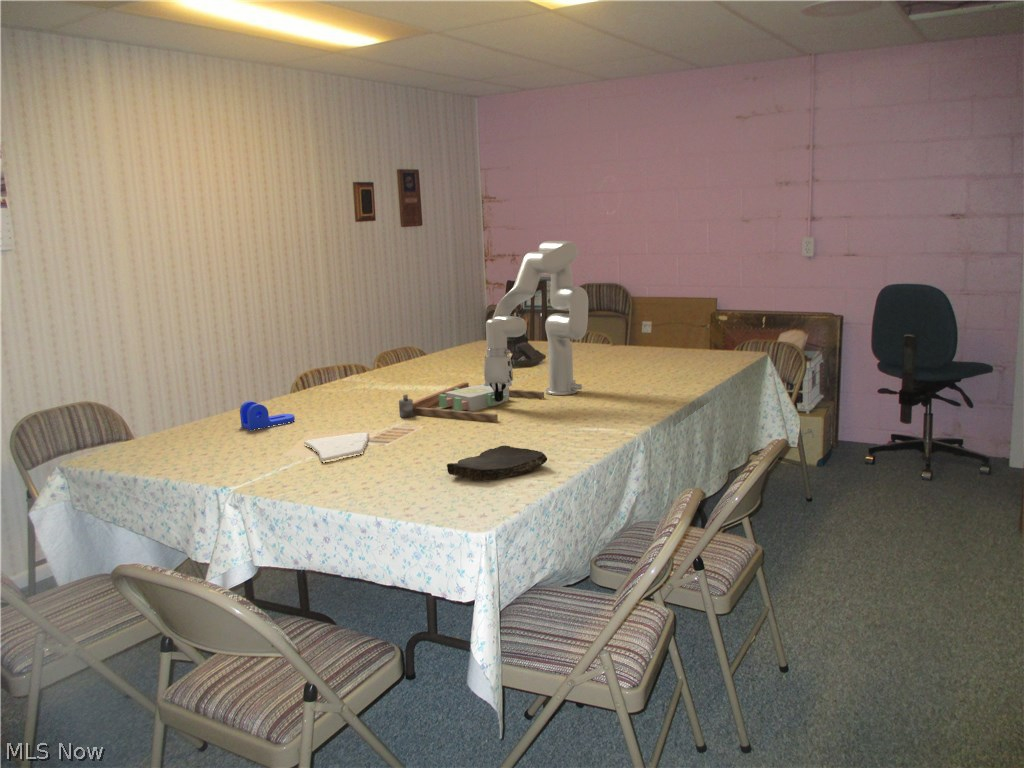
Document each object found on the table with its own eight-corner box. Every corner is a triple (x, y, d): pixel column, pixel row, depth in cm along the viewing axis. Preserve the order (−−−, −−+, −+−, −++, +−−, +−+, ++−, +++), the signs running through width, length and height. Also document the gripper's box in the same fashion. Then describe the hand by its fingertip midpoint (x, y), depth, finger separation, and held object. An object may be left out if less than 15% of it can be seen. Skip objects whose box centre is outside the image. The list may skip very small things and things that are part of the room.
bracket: (250, 431, 287) (248, 406, 285) (241, 427, 293) (238, 402, 292) (298, 422, 298) (296, 397, 297) (288, 418, 305) (286, 394, 303)
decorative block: (481, 380, 330) (516, 386, 315) (482, 396, 331) (517, 402, 317) (431, 391, 312) (466, 398, 298) (432, 408, 313) (467, 415, 299)
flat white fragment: (304, 450, 267) (318, 467, 245) (303, 440, 267) (317, 456, 244) (368, 438, 275) (387, 454, 253) (366, 428, 275) (386, 443, 252)
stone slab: (440, 488, 230) (488, 489, 215) (436, 465, 229) (483, 465, 215) (506, 464, 248) (554, 463, 233) (502, 442, 247) (550, 441, 233)
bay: (544, 398, 321) (543, 378, 319) (487, 426, 282) (486, 403, 280) (461, 391, 338) (460, 372, 337) (397, 417, 299) (395, 395, 297)
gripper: (519, 351, 303) (521, 400, 307) (484, 350, 310) (486, 397, 314) (510, 355, 297) (512, 404, 301) (474, 353, 304) (476, 401, 307)
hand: (499, 400), depth 307 cm, fingers closed
